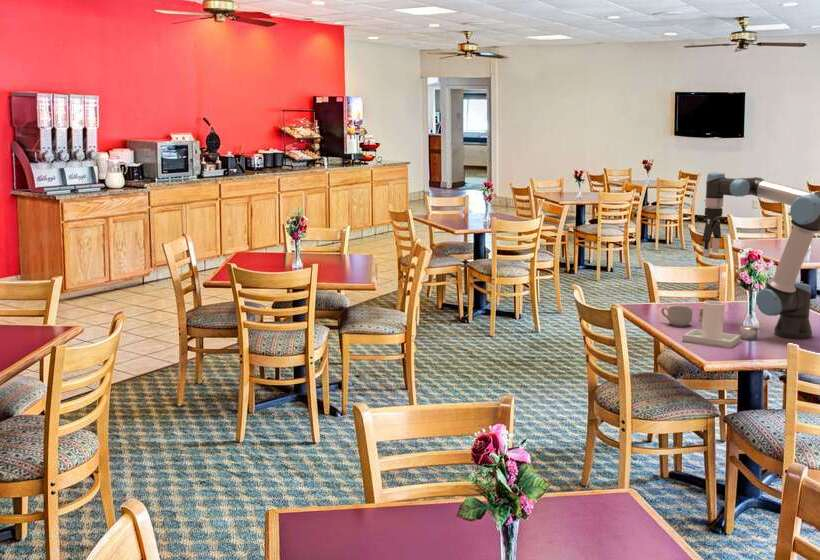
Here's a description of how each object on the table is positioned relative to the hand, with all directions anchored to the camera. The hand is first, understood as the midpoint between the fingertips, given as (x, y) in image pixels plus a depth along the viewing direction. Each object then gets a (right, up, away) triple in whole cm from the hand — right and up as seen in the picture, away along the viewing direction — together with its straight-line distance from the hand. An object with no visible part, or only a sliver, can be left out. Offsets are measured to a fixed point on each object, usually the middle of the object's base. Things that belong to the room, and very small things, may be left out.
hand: (710, 254), depth 420 cm
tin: (+9, -37, -23) cm, 44 cm away
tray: (-9, -37, -29) cm, 48 cm away
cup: (-9, -37, -29) cm, 48 cm away
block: (+1, -30, +11) cm, 32 cm away
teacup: (-15, -32, +2) cm, 35 cm away
